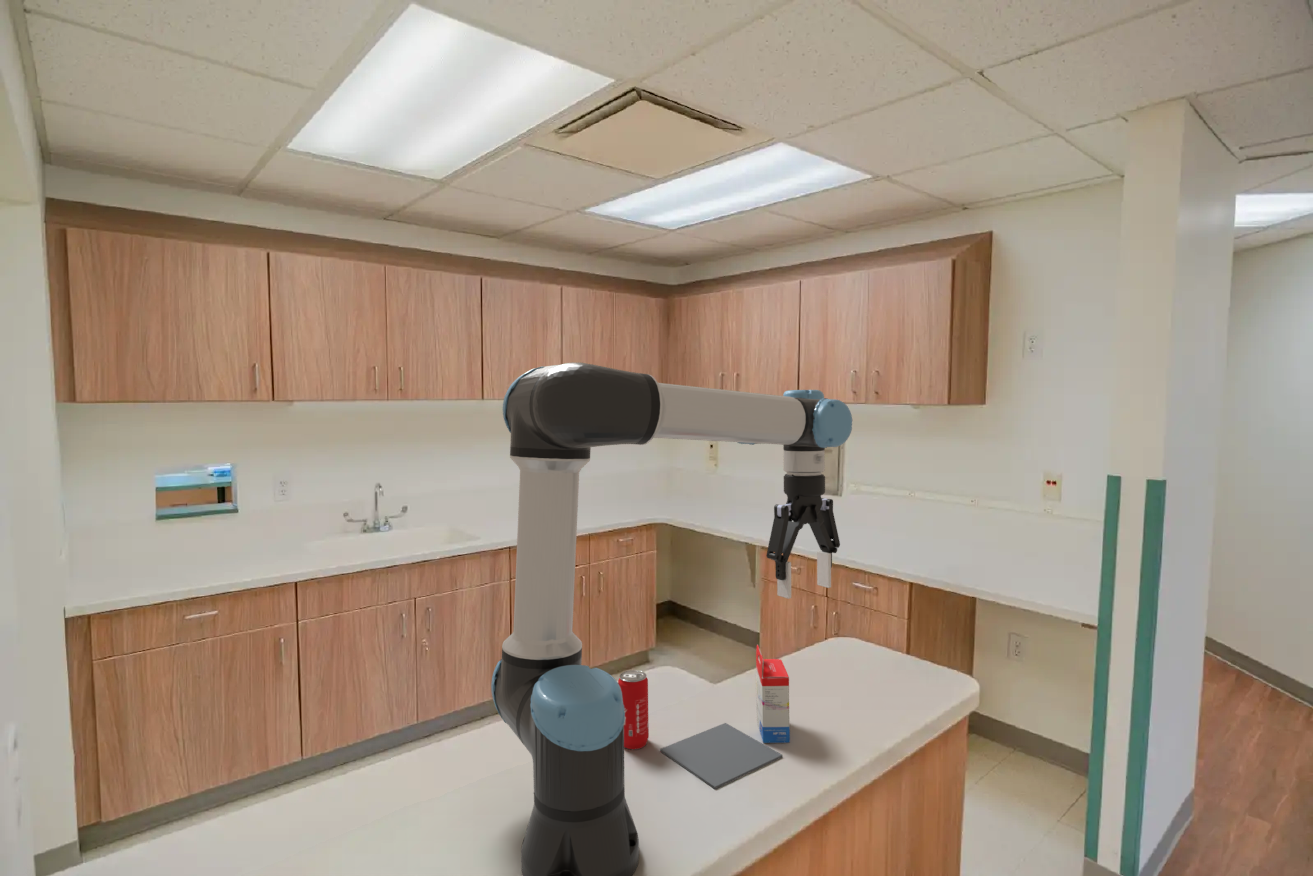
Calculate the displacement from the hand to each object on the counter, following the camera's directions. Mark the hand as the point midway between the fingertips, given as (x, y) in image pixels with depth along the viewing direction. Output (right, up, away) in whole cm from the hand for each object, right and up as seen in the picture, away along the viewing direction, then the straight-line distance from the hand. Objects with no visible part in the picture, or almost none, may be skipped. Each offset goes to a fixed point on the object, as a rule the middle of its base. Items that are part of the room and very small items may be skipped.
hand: (804, 591), depth 121 cm
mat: (-17, -25, -12) cm, 32 cm away
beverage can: (-32, -25, -8) cm, 41 cm away
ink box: (-7, -24, -4) cm, 26 cm away
